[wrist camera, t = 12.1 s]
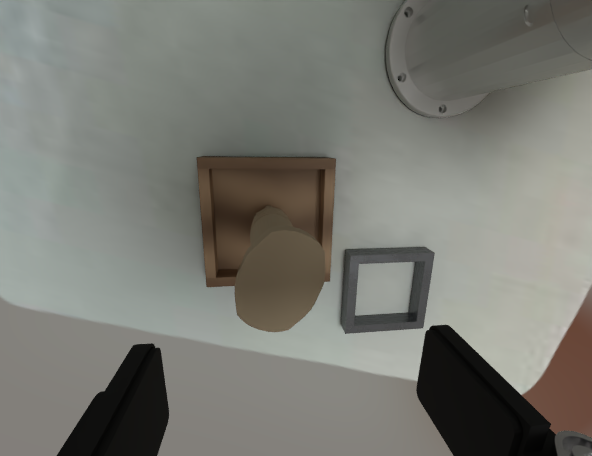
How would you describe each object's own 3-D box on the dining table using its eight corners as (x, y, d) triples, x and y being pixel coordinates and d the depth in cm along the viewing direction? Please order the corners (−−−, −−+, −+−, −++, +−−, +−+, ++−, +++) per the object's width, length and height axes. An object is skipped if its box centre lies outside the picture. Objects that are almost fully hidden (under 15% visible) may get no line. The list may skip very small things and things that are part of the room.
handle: (237, 238, 31) (220, 318, 17) (259, 182, 30) (261, 218, 16) (279, 253, 32) (296, 340, 18) (302, 200, 31) (341, 248, 17)
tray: (202, 156, 29) (196, 157, 27) (328, 157, 31) (335, 158, 28) (210, 274, 33) (206, 287, 30) (323, 270, 35) (329, 281, 32)
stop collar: (345, 249, 34) (350, 255, 32) (425, 246, 36) (434, 252, 34) (340, 323, 37) (345, 333, 35) (414, 318, 38) (423, 328, 36)
